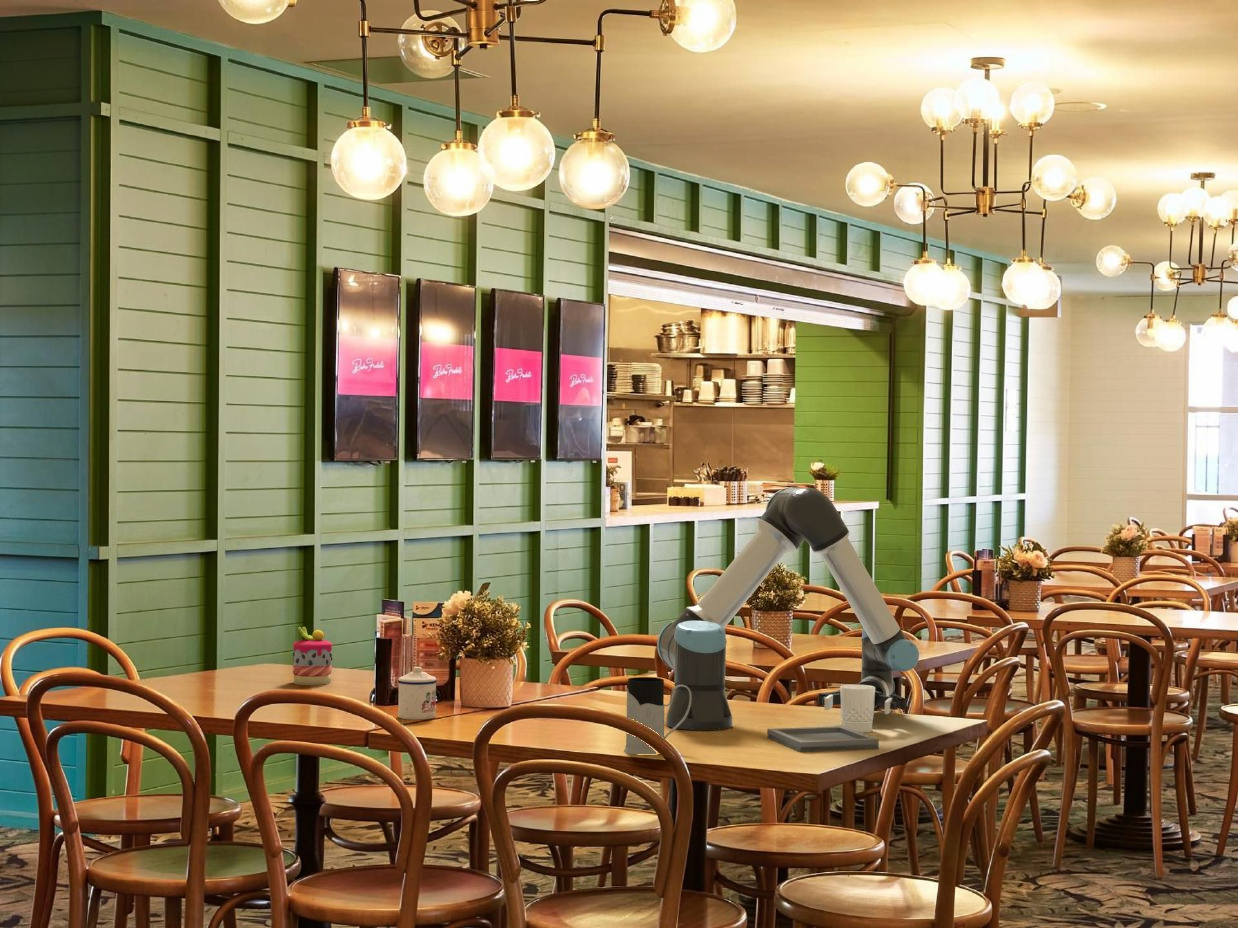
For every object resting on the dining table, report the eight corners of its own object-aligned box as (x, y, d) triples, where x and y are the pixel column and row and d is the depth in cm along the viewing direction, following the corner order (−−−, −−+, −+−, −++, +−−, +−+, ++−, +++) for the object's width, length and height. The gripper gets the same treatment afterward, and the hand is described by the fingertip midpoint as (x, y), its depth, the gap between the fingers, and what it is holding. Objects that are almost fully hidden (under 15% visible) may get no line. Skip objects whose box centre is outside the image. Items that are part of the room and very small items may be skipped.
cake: (332, 680, 434) (333, 625, 434) (330, 685, 424) (331, 629, 424) (293, 680, 433) (294, 625, 433) (290, 685, 423) (291, 629, 423)
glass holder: (619, 748, 332) (620, 676, 332) (685, 746, 336) (686, 675, 336) (629, 755, 324) (630, 682, 324) (696, 754, 327) (697, 681, 327)
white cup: (873, 734, 356) (874, 689, 356) (838, 732, 357) (839, 688, 357) (875, 728, 364) (876, 685, 364) (840, 727, 365) (841, 683, 365)
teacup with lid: (428, 720, 366) (429, 670, 366) (391, 718, 368) (392, 668, 368) (446, 713, 377) (447, 664, 377) (410, 711, 379) (411, 662, 380)
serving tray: (800, 751, 331) (800, 742, 331) (767, 737, 349) (767, 728, 349) (878, 748, 337) (878, 739, 337) (842, 734, 354) (842, 725, 354)
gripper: (923, 712, 374) (911, 726, 354) (818, 706, 382) (801, 719, 362) (923, 681, 374) (912, 692, 354) (818, 675, 382) (801, 686, 362)
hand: (856, 706), depth 358 cm, fingers open, 13 cm apart
